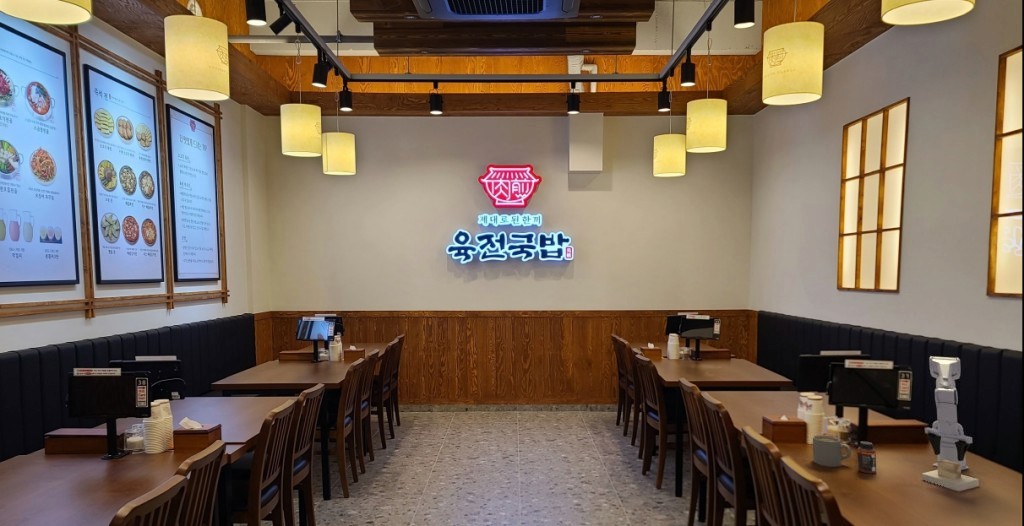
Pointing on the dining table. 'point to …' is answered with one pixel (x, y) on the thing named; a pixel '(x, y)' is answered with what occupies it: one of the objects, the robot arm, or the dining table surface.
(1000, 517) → the dining table surface
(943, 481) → the beige block
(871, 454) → the supplement bottle
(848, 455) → the coffee mug
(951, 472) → the maple cube
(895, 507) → the dining table surface
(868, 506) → the dining table surface
